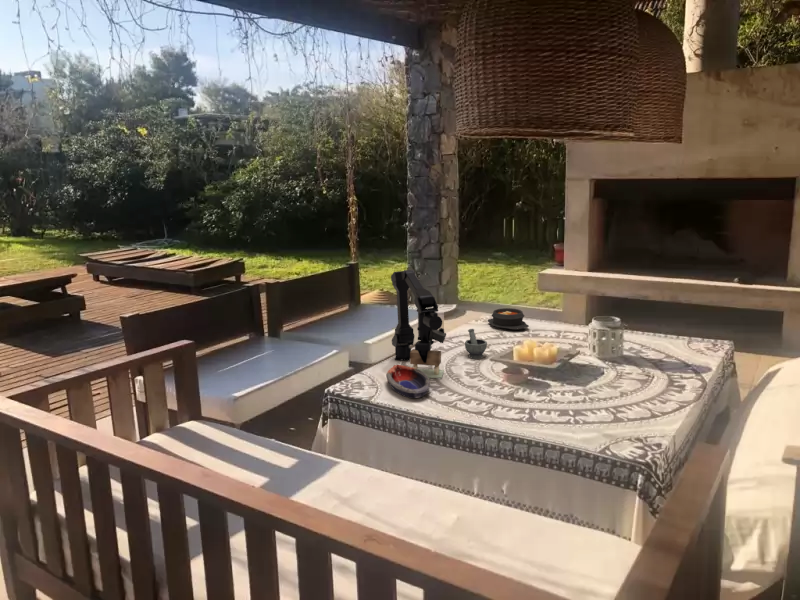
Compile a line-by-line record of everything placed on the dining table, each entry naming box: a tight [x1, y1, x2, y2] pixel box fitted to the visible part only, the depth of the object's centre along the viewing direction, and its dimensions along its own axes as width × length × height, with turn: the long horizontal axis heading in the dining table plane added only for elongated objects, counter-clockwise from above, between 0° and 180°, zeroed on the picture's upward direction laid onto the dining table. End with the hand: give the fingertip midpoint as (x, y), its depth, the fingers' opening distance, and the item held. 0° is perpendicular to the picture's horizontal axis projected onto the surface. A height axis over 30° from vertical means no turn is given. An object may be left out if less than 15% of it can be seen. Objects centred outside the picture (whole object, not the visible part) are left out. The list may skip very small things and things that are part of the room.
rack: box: [411, 364, 445, 380], centre depth 267 cm, size 14×9×4 cm, turn 81°
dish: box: [385, 364, 431, 399], centre depth 253 cm, size 16×31×5 cm, turn 14°
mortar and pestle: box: [464, 328, 488, 360], centre depth 289 cm, size 11×9×12 cm
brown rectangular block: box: [409, 348, 442, 367], centre depth 266 cm, size 12×4×5 cm, turn 75°
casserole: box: [487, 307, 530, 330], centre depth 339 cm, size 25×19×8 cm
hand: (425, 360), depth 267 cm, fingers closed on brown rectangular block, 5 cm apart
